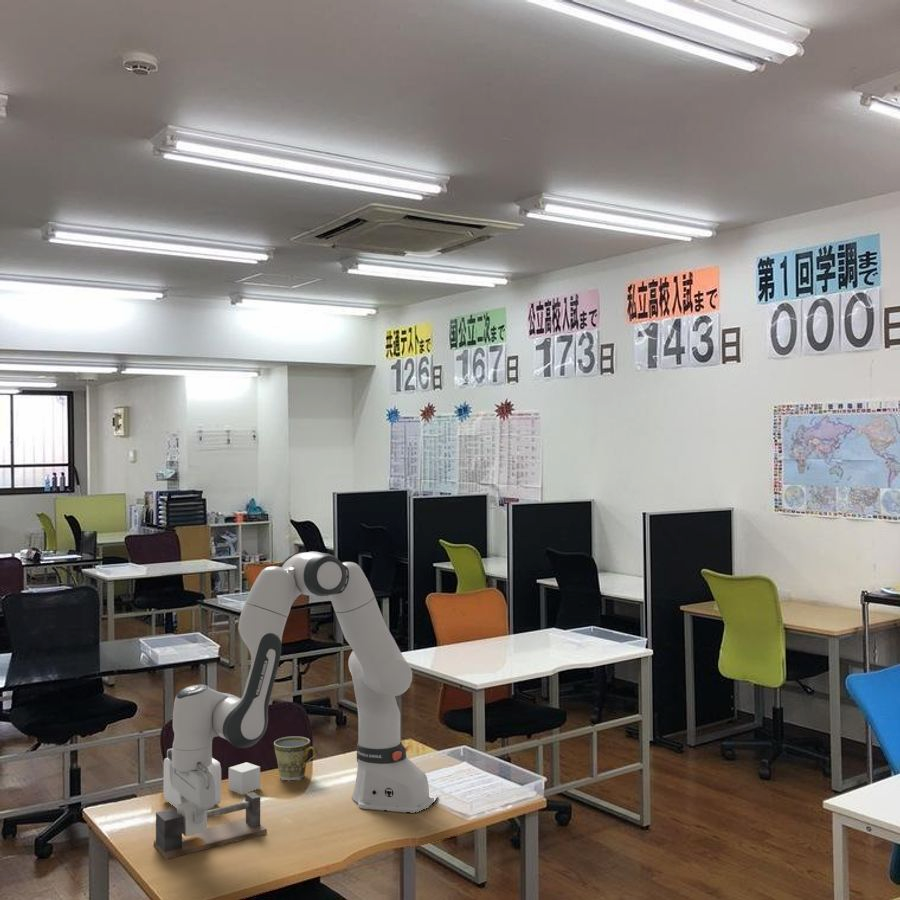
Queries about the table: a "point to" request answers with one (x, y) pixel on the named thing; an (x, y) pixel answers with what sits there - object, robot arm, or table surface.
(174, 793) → the cable organizer
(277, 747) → the ceramic cup
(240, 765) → the light gray cube
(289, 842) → the table surface
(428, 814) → the table surface
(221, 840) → the rail
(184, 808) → the white cube
